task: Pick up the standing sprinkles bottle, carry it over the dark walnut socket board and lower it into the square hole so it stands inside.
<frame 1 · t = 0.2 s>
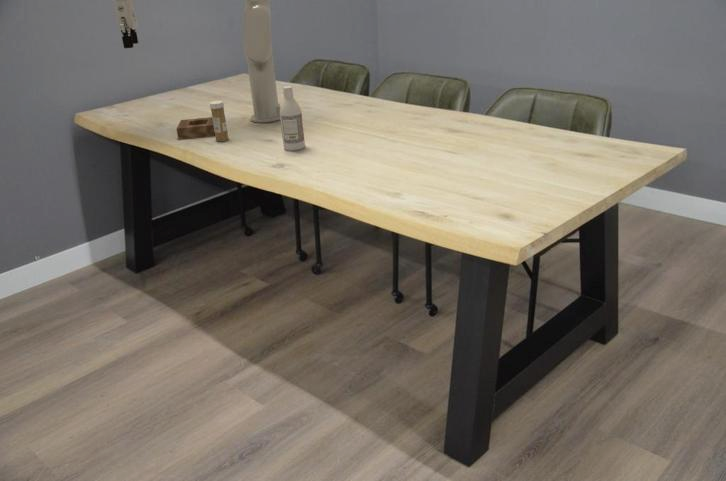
hand: (131, 45, 257), 31 cm above the table, tool pointing down, fingers open, 9 cm apart
socket board: (200, 133, 261), on the table
bath foam: (294, 148, 235), on the table
sprinkles bottle: (222, 140, 250), on the table
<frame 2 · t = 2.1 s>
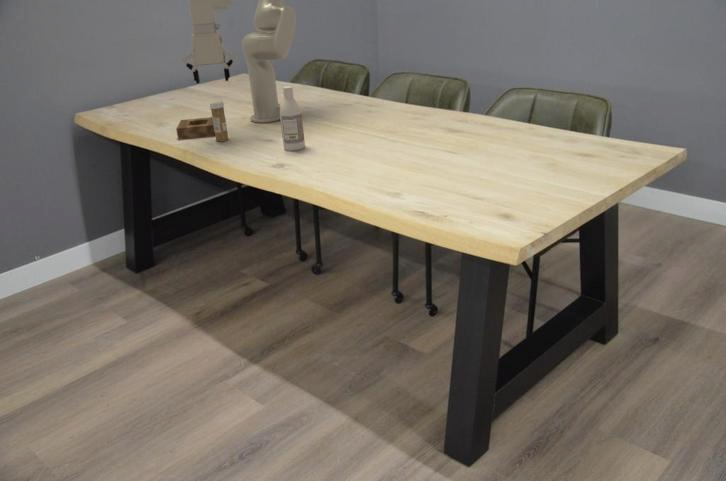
hand: (212, 81, 242), 20 cm above the table, tool pointing down, fingers open, 9 cm apart
nothing on the table moved.
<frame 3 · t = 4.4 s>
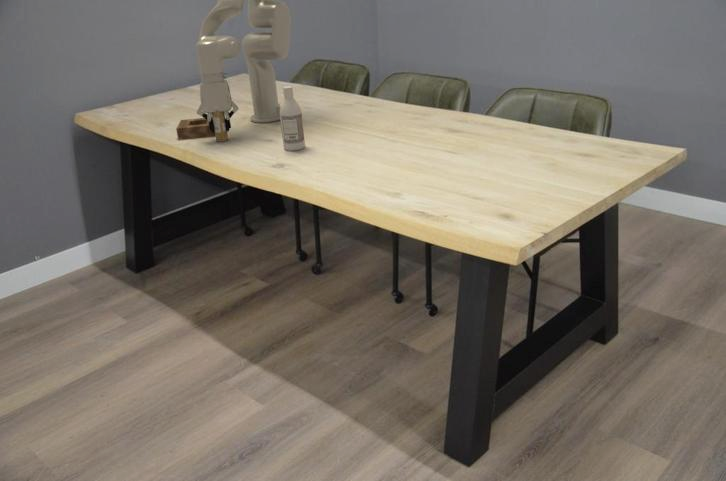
hand: (220, 130, 249), 3 cm above the table, tool pointing down, fingers closed on sprinkles bottle, 4 cm apart
sprinkles bottle: (222, 140, 250), on the table, touching gripper
everything else where it was.
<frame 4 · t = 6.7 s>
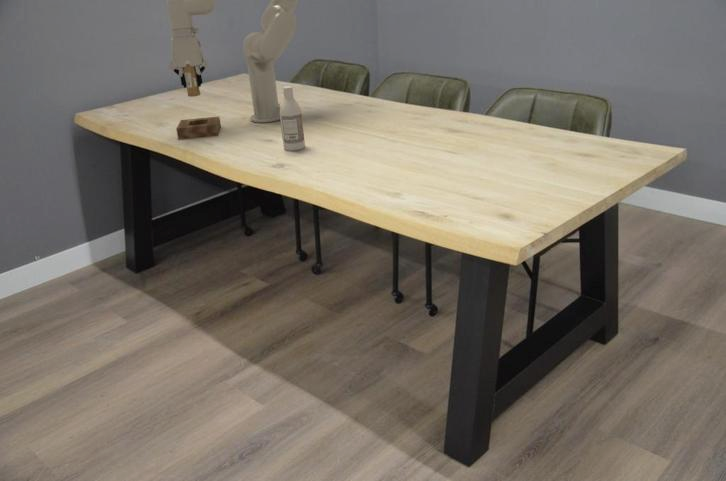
hand: (192, 86, 254), 17 cm above the table, tool pointing down, fingers closed on sprinkles bottle, 4 cm apart
sprinkles bottle: (194, 96, 255), point 14 cm above the table, touching gripper
everything else where it was.
when the fingers open (5 cm above the table, at t = 9.2 s): sprinkles bottle drops 2 cm, resting in socket board.
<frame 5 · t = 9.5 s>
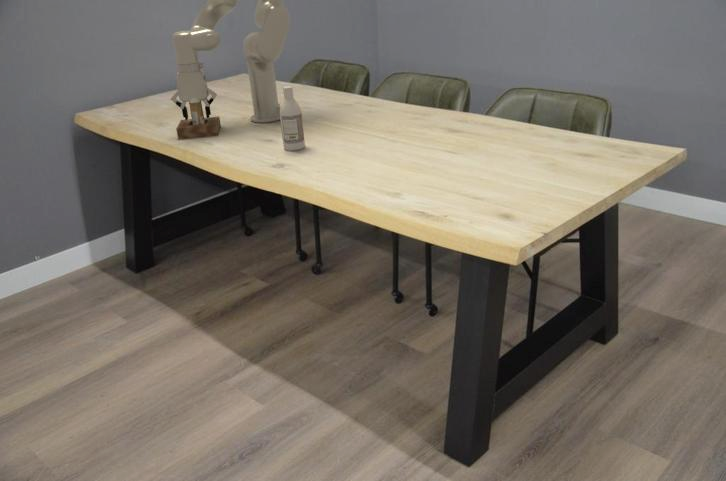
hand: (197, 117, 258), 6 cm above the table, tool pointing down, fingers open, 7 cm apart
sprinkles bottle: (200, 133, 261), resting in socket board
everything else where it was.
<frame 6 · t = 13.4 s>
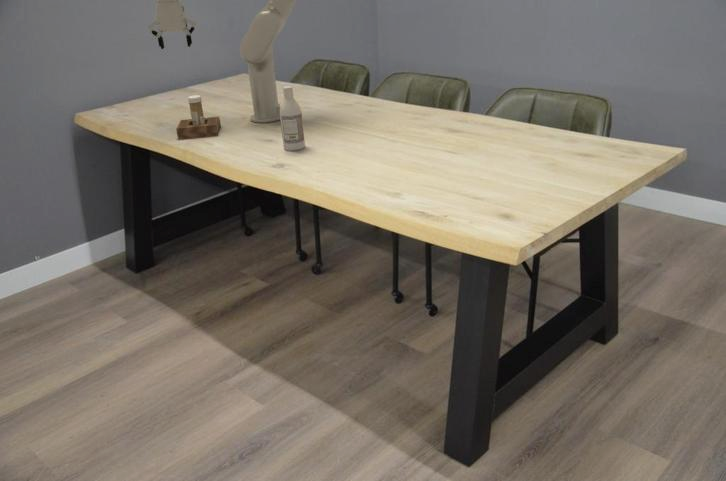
hand: (176, 47, 264), 28 cm above the table, tool pointing down, fingers open, 9 cm apart
nothing on the table moved.
at the end: sprinkles bottle 0.1 cm off-centre on the socket board, point 0.0 cm above the socket board's base; sprinkles bottle tilted 0°; the gripper is holding nothing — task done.
